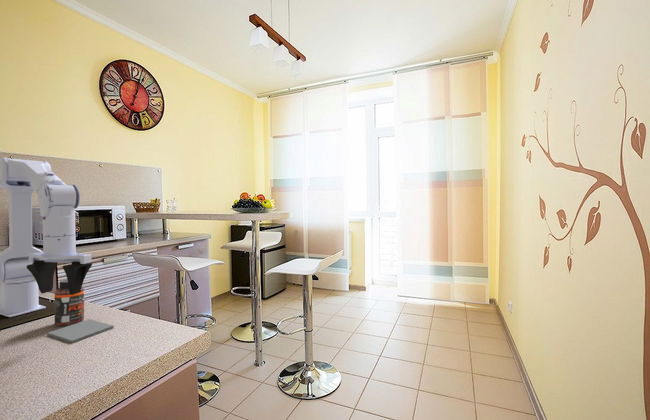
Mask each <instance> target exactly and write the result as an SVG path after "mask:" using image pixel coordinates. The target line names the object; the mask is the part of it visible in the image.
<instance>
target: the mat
mask: <svg viewBox="0 0 650 420" xmlns="http://www.w3.org/2000/svg"><path fill="white" fill-rule="evenodd" d="M114 327H115V326H114V325H112V324H109V323H105V322H102V321H98V320H94V319H86V320H82V321H81V322H79V323H76V324H73V325H68V326H63V327H61V328H59V329H55V330H52V331H48V332H47V336H49V337H52V338H55V339H57V340H58V339H59V340H61V341H63V342H67V343H70V344H74V343H77V342H79V341H82V340H85V339H87V338H90V337H93V336H95V335H98V334H102V333H104V332H107V331H109V330H111V329H114Z"/></svg>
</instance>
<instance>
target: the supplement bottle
mask: <svg viewBox="0 0 650 420" xmlns="http://www.w3.org/2000/svg"><path fill="white" fill-rule="evenodd" d="M58 285H59V288H58V289H56V290H55V292H54V325H55V326H57V327H67V326H70V325H73V324H76V323H79V322H83V321H84V319H85V290H84V287H83V286H82V288H81V291H80V293H76V294H73V295H70V293H69V289H68V280H67V278H66V279H62V280H60V281H59V284H58Z"/></svg>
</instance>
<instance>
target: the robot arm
mask: <svg viewBox="0 0 650 420" xmlns="http://www.w3.org/2000/svg"><path fill="white" fill-rule="evenodd" d="M0 188H1V189H4V190H6V193H7V197H8V233H9V234H8V238H9V241H8V242H9V245H8V246H9V247H7V248H5V249H3V250H2V251H0V283H1V284H0V315H2V316H4V317H8V318H12V317H16V316H17V317H18V316H20V315H24V314H27V313H31V312H35V311H40V310H43V309H46V306H44V305H41V304H40V303H39V299H40V298H39V291H40V294H46V293H49V292H52V291H53V288H54V277H55V272H56V267H57V265H58V263H65V265H62V269H63V271H64V273H65V275H66V276H65V277H66V279H67V280H68V289H69V293H70V295H73V294H76V293H80V291H81V288H82V287H83V283H84V281H85V278H86V275H87V274H88V272H89V271H90V269H91V268H92V266H93V262H92V254H91V253H82V252H76V251H77V250H76V249H77V247H76V242H77V241H76V239H77V238H76V209H77V208H78V207H79V206H80V200H81V194H80V189H79V188H78V186H77V185H76V184H66V183H65V182H64V181H63V180H62V179H61V178H60V177H59V176H58V175H56V174H55V172H53V170H52V165H51V164H50V163H49V162H48V161H47V160H43V161H41V160H32V159H20V158H9V157H5V156H4V157H3V156H2V157H1V158H0ZM33 192H34V193H35V194H36V195H37V202H38V207H39V212H40V213H39V214H40V217H42V238H43V239H42V242H43V243H42V245H43V246H42V248H43V250H41V249H39V248H37V247H35V246H34V245H33V208H32V207H33V204H32V203H33V199H32V198H33V197H32V196H33V195H32V194H33ZM67 263H69V264H67Z"/></svg>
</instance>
